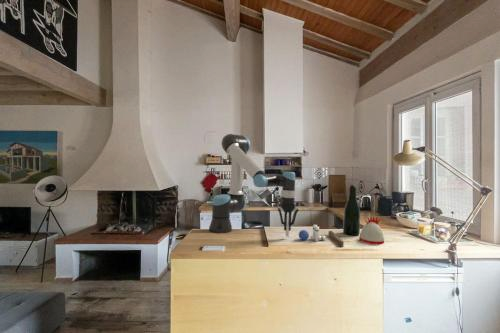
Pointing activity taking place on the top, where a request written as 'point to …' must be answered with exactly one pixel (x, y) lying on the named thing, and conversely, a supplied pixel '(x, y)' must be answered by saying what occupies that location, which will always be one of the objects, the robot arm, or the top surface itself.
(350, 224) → the green wine bottle
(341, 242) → the back wall
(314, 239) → the front pin
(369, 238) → the spiked dome hat
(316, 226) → the back left pin
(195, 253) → the top surface
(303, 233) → the ball
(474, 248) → the top surface
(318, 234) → the back right pin
